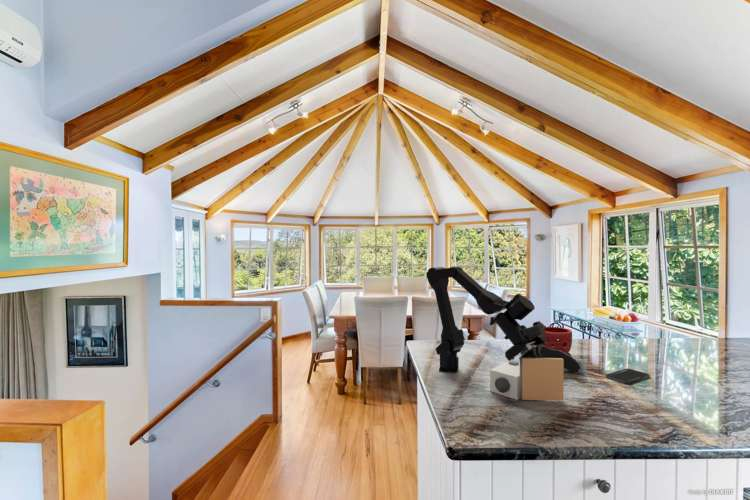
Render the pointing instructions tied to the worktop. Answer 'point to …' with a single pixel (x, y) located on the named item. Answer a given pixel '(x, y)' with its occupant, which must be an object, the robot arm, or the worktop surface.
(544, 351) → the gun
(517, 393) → the white box
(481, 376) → the worktop surface
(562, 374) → the tan flat square panel
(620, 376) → the phone
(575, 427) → the worktop surface
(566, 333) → the plant pot
